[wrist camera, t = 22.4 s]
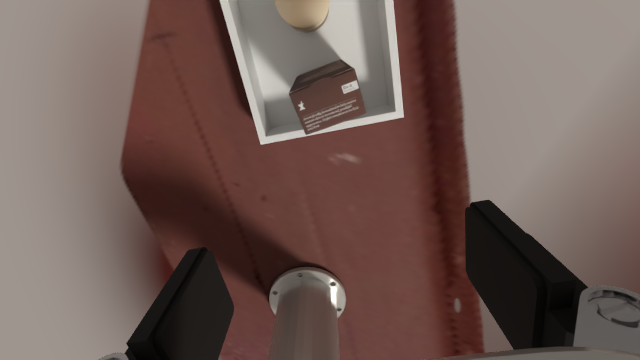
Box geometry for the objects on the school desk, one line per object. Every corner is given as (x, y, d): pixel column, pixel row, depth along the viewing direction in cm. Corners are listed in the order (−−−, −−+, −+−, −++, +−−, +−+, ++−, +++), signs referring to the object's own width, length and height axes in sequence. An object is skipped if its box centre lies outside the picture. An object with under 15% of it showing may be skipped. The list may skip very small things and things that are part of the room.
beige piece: (331, -17, 33) (332, -34, 27) (326, 34, 35) (326, 30, 29) (285, -22, 33) (275, -41, 27) (282, 30, 35) (272, 24, 28)
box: (309, 111, 39) (304, 137, 28) (295, 76, 37) (284, 88, 26) (355, 94, 38) (368, 114, 27) (343, 57, 36) (353, 62, 25)
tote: (394, 108, 39) (403, 117, 34) (267, 133, 40) (260, 144, 36) (377, -58, 32) (386, -75, 28) (225, -21, 34) (210, -32, 29)
